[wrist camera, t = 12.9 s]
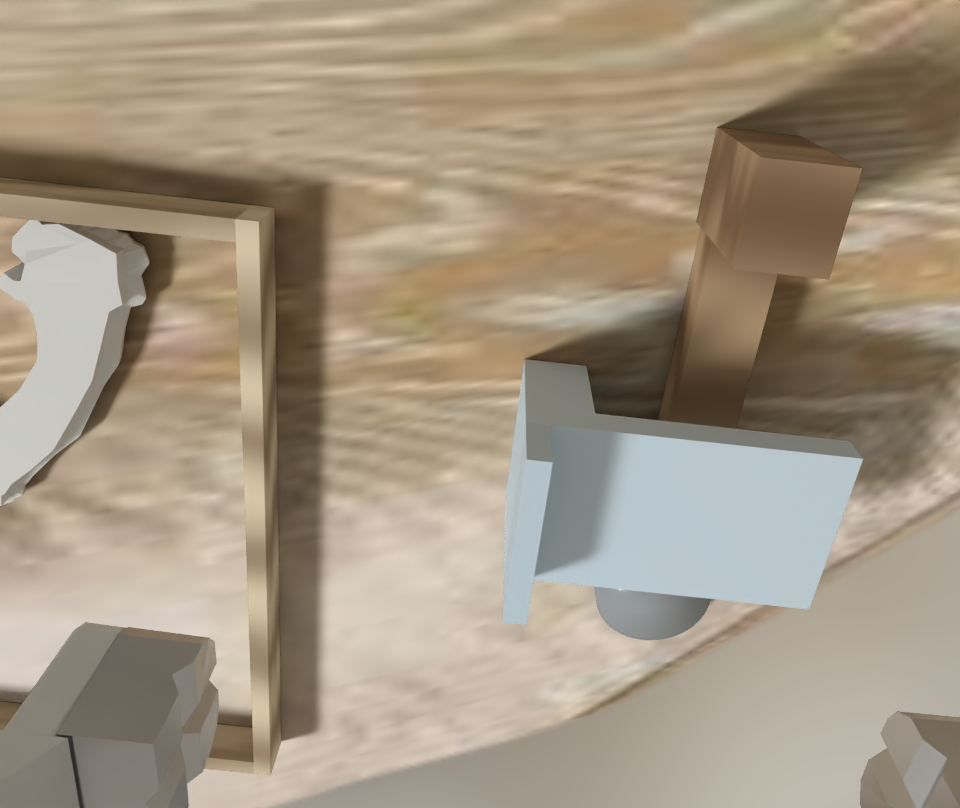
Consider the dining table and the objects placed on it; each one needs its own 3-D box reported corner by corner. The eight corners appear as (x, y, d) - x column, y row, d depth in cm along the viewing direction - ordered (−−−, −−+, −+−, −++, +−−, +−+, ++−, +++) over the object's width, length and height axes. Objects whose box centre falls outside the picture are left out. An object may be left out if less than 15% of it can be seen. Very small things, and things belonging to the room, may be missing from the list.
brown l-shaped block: (717, 127, 34) (761, 157, 28) (799, 136, 35) (862, 168, 28) (641, 471, 42) (663, 555, 36) (709, 478, 42) (743, 563, 36)
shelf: (524, 359, 40) (526, 459, 31) (812, 390, 40) (893, 499, 31) (505, 498, 43) (502, 622, 35) (769, 526, 43) (831, 656, 35)
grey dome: (597, 525, 44) (601, 548, 42) (710, 530, 44) (718, 553, 42) (589, 613, 47) (591, 637, 45) (695, 617, 47) (702, 642, 45)
